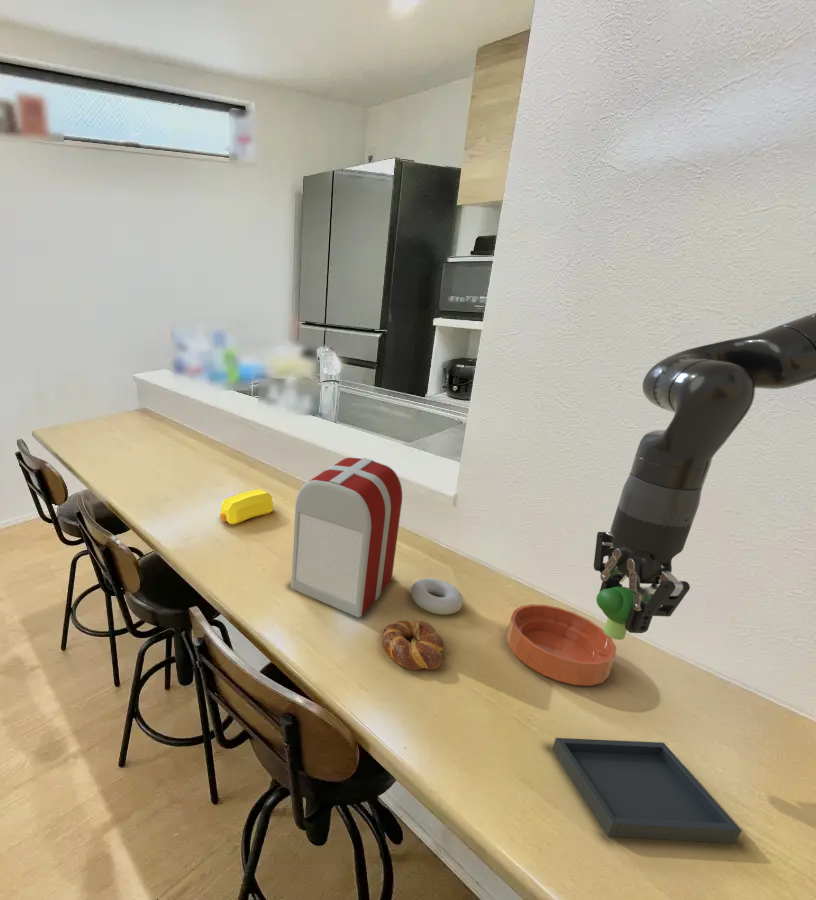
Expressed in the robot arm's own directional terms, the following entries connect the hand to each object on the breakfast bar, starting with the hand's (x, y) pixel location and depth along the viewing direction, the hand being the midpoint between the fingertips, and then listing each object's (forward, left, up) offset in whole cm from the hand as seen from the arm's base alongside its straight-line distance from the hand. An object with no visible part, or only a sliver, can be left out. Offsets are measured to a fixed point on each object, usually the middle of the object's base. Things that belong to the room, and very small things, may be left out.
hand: (619, 617), depth 70 cm
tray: (+2, +12, -18) cm, 22 cm away
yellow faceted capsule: (+53, -64, -18) cm, 85 cm away
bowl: (-2, -13, -18) cm, 22 cm away
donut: (+14, -27, -18) cm, 35 cm away
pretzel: (+23, -13, -18) cm, 32 cm away
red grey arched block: (+32, -33, -18) cm, 49 cm away
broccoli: (0, 0, -3) cm, 3 cm away
